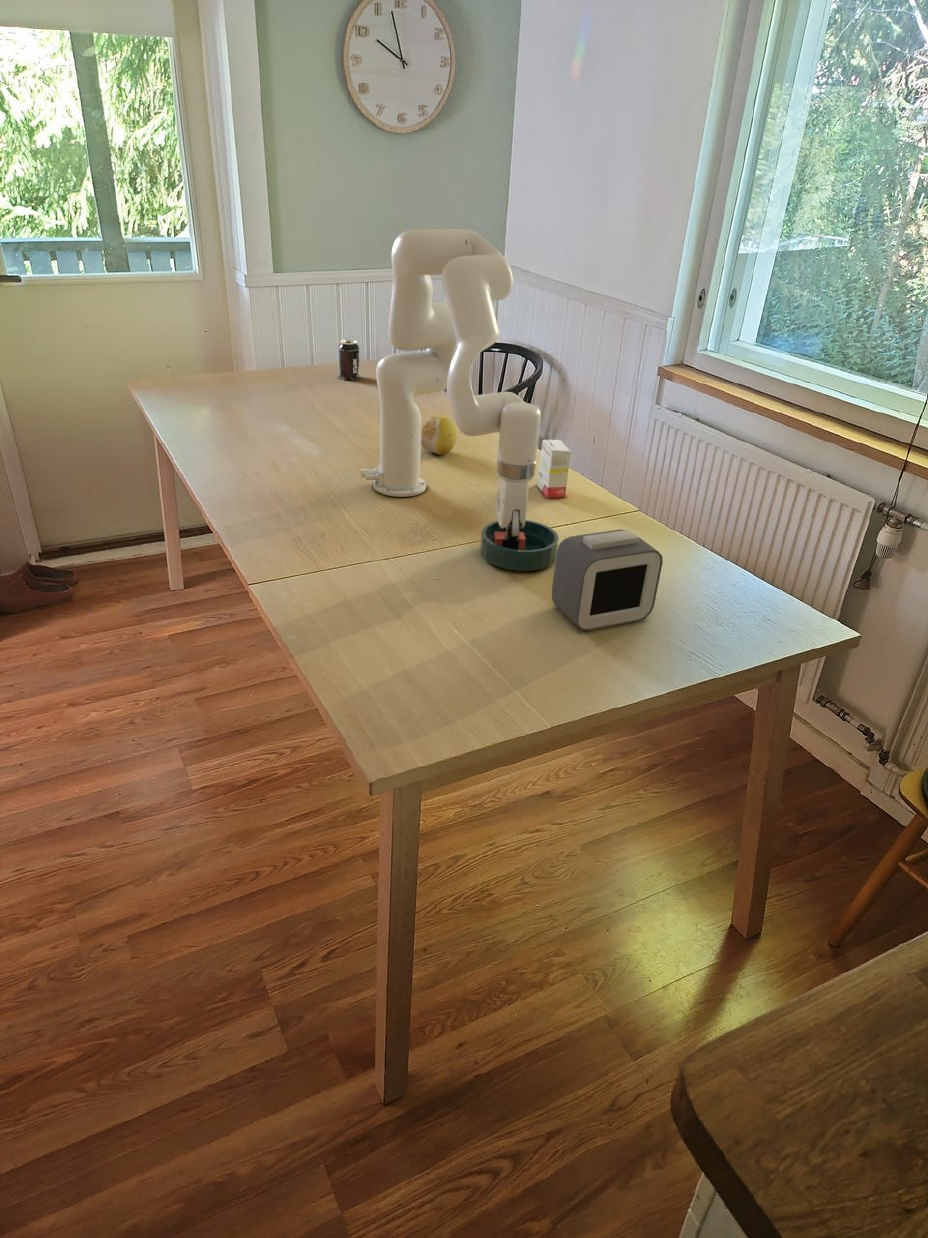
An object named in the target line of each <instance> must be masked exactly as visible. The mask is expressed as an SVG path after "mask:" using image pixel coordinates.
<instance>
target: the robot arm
mask: <svg viewBox="0 0 928 1238" xmlns="http://www.w3.org/2000/svg"><path fill="white" fill-rule="evenodd" d="M391 269H392V281H393V283H392V290H391V291H392V292H391V300H390V310H389V316H388V317H389V318H388V327H387V328H388V330H387V334H388V340H389V343H390V344H391V346H392V347H393V348H394V349H396V350H399V351H405V352H396V353H392V354H388V355H386V356H384V357H383V358H381V359H380V361H378V363H377V365H376V368H375V378H376V379H375V380H376V384H377V390H378V391H377V392H378V398H379V419H380V420H379V428H380V429H379V440H380V441H379V448H380V449H379V464H378V468H376V467H375V468H374V469H366V468H360V477H361V478H365V481H373V485H372V486H373V489H374V490H375V491H376V492H378V493H379V494H382V495H385V496H389V497H394V498H408V497H415V496H418V495H421V494H423V493H424V492H425V491H426V489H427V482H426V481H425V480H424V479H423V478H421V453H422V445H421V426H422V425H421V424H422V422H423V421H422V420H423V419H422V414H421V413H422V412H421V410H420V409H419V407H418V405H417V404H416V402H415V400H414V397H416V396H417V397H418V396H423V395H428V394H429V395H430V394H435V393H441V392H443V391H445V389H446V390H447V391H446V392H447V397H448V402H449V405H450V409H451V415H452V417H453V420H454V422H455V425H456V427H457V429H458V430H459V431H460V432H461V433H462V434H463V435H465V436H468V437H478V436H479V437H480V436H485V435H489V434H497V433H499V437H498V449H497V461H496V473H495V474H496V476H497V478H498V485H497V494H496V500H495V515H496V516H495V517H496V519H497V521H498V523H499V526H500V527H501V529H502V530H501V531H500V532H505V539H503V544H502V547H506V548H509V549H515V550H518V545H519V530H520V528H521V529H522V528H523V527H524V525H525V520H527V509H528V498H529V486H530V485H529V484H530V481H533V480H534V479H535V477H536V466H537V458H538V457H537V456H538V449H539V439H540V431H541V430H540V429H541V420H542V413H541V410H540V408H539V407H538V406H537V405H534V404H532V403H528V402H526V401H524V400H523V399H522V398H521V397H520V396H519V395H517V394H516V393H514V392H511V391H500V392H491V393H483V394H476V395H474V391H473V387H472V381H471V372H472V368H473V364H474V362H475V361H476V359H477V357H478V355H479V354H481V353H482V352H483V351H485V350H487V349H488V348H490V347H492V346H493V345H494V344H495V343H496V342H497V341H498V340H499V337H500V329H499V326H498V322H497V317H496V314H495V308H494V305H493V302H494V301H502V300H504V299H506V298H507V297H509V295H510V294H511V292H512V289H513V285H514V276H513V272H512V268H511V266H510V264H509V262H508V260H507V259H506V257H505V256H504V255H503V254H502V253H501V252H500V251H499V250H498V249H497V248H496V247H495V246H493V245H492V244H491V243H489V242H488V241H487V240H486V239H485V238H484V237H483V236H482V235H481V234H479V233H478V232H476V231H475V230H472V229H468V228H417V229H408V230H405V231H403V232H401V233H400V234H398V235H397V237H396V238H395V240H394V242H393V245H392V249H391ZM431 276H441V284H442V288H443V292H444V296H445V301H446V303H445V302H440V301H439V302H437V301H436V302H435V301H434V302H432V301H433V296H434V284H433V283H434V282H433V281H432V280H433V279H432V278H431ZM508 532H509V533H508Z"/></svg>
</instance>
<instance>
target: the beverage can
mask: <svg viewBox="0 0 928 1238" xmlns="http://www.w3.org/2000/svg"><path fill="white" fill-rule="evenodd" d="M339 341H340V342H339V344H338V346H337V348H338V349H337V351H338V353H337V354H338V377H339V378H341V379H342V380H345V381H353V380H357V379H358V378H359V377H360V346H359V344H358V341H357V340H355V339H341V340H339Z"/></svg>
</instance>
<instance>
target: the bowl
mask: <svg viewBox="0 0 928 1238" xmlns="http://www.w3.org/2000/svg"><path fill="white" fill-rule="evenodd" d="M501 530H502V529H501V527H500V526H499V523H498V520H495V521H492V522H489V523H488V524H486V525H485V526H484V527H483V528H482V530H481V533H480V547H479V551H480V556H481V557H483V559H484V560H485V561H486V562H488V563H490V564H491V565H494V566H496V567H498V568H502V569H505V570H509V571H517V572H531V571H538V570H539V571H540V570H543V569H545V568H548V567H550V566H552V564H555V561H556V553H557V549H558V546H559V540H560V538H559V534H558V533H557V532H556V531H555V530H553V528H552V527H549V526H547V525H546V524H544V523H540V522H537V521H534V520H528V519H525V525H524V527H523V528H522V529H521V528H520V530H519V532H523V533H524V536H525V539H526V541H525V550H515V549H509V548H506V547H502V546H499V545H497V544H495V543H494V533H495V532H500V531H501Z"/></svg>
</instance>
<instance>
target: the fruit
mask: <svg viewBox="0 0 928 1238" xmlns="http://www.w3.org/2000/svg"><path fill="white" fill-rule="evenodd" d="M421 425H422V426H421V448H423V449H424V450H426V451H427V452H431V453H434V454H436V455H446V454H449V452H451V451H452V450H453V448H454V447H455V445H456V442H457V435H458V433H457V428H456V426H455V424H454V422H453V421H452V419H450V417H447V416H445V415H432V416H430V417H428V418H426V419H424V420H423V421H422V423H421Z"/></svg>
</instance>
